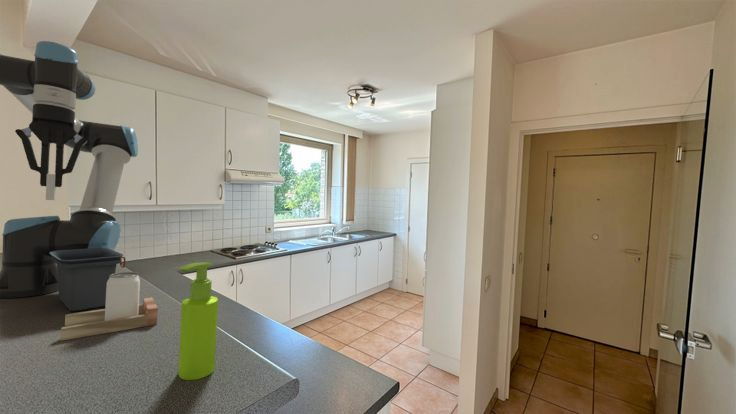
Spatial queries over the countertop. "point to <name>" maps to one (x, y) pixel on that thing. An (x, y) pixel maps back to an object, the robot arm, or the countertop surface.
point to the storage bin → (85, 275)
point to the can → (122, 295)
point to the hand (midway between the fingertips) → (50, 199)
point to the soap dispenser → (198, 326)
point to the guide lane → (107, 321)
